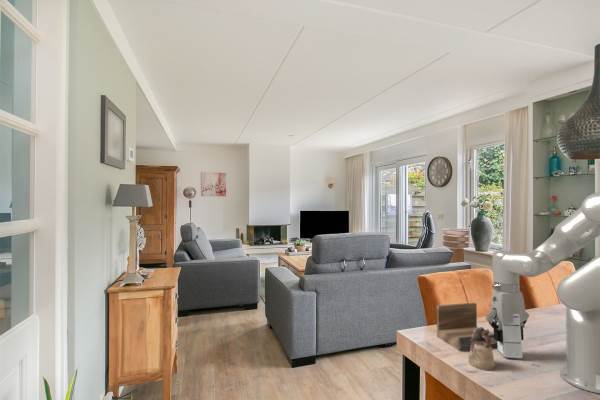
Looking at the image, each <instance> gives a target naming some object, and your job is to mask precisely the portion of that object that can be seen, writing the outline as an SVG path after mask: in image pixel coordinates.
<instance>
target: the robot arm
mask: <svg viewBox="0 0 600 400" xmlns="http://www.w3.org/2000/svg"><path fill="white" fill-rule="evenodd" d="M599 236H600V191H598V192H593V193H592V194H589V195H588V196H586V198H584V200H583V201H582V203H581V205H580V207H579V208H578V209H576V210H575V211H574V212H572V213H571V214H570V215H569V216H567V217H566V218H564V219H563V220H562V221H561V222H559V223H558V224H557V225H556V226H555V228H554V230H553V233H552V234H551V235H550V236H549V237H548V238H547V239H546V240H545V241H544V242H542V243H541V244H540V245H539V246H537V247H536V248H535V249H533V250H532V251H529V252H524V253H517V252H516V251H512V250H496V251H493V252H492V255H491V256H492V257H491V260H492V275H493V276H492V278H493V284H492V286H491V288H492V289H493V290H492V293H491V298H490V299H491V300H490V313H488V314H487V316H486V317H485V320H486V321H487V322H488V324H489V325H490V326H491V328H492V329H493V334H494V339H495V340H496V341H499V342H501V343H502V342H503V331H502V330H501V328H502V323H504V324H509V323H513V316H512V315H513V314H519V315H520V327H521V341H524V328H525V324H526V323H527V321H528V318H529V316H530V314H529V313H528V312H527V311H526V305H525V299H524V295H523V292H522V291H521V290H520V289H521V285H520V276H522V277H527V278H535V277H538V276H541V275H543V274H545V273H547V272H548V271H550V270H552V269H554V268H555V267H557V266H558V265H559V264H561V263H562V262H564V261H565V260H566V259H567V258H569V257H571V256H572V255H573V254H575V253H577V252H578V251H580V250H582V248H584V247H585V246H587V245H588V244H589V243H591V242H593V241H594V240H595V239H596V238H598V237H599ZM556 296H557V298H558V299H559V301H560V303H562V305H563V306H565V308H566V309H565V310H566V311H565V334H566V336H565V340H566V341H565V342H566V345H565V346H566V349H565V350H566V367H563V368H561V369H560V371H559V374H560V377H561V378H562V379H563V380H564V381H565V382H567V383H568V384H571V385H572V386H574V387H577V388H579V389H582V390H585V391H588V392H591V393H595V394H600V255H597V256H596V257H594V258H592V259H591V260H590V261H588V262H587V263H585V264H584V265H582V266H581V267H579V268H578V269H577V270H574V271H573V272H572V273H570V274H569V275H567V276H566V277H564V278H563V279H561V280H560V281H559V283H558V284H557V287H556ZM498 322H499V324H498V325H497V323H498Z"/></svg>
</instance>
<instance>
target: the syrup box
mask: <svg viewBox="0 0 600 400" xmlns="http://www.w3.org/2000/svg"><path fill="white" fill-rule="evenodd" d="M512 316H513V323H509V324H504V323H502V328H501V330H502V331H503V342H502V343H501V342H499V341H497V347H496V348H497V351H498V353H500V354H501V355H502V356H503V357H504V358H508V359H509V358H510V359H523V344H522V343H523V342H522V341H523V340H521V327H520V315H519V314H513V315H512ZM498 324H499V322H498V323H497V325H498Z"/></svg>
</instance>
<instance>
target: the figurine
mask: <svg viewBox="0 0 600 400" xmlns="http://www.w3.org/2000/svg"><path fill="white" fill-rule="evenodd" d="M488 333H490V330H489V329H485V328H484V327H483V326H477V328H476V329H474V331H473V333H472V335H471V336H472V339H471V340H470V342H471V347H470V350H469V355H468V363H469V365H470V366H471V367H473V368H475V369H479V370H483V371H491V370H494V369H495V363H496V362H495V358H494V352H493V348H491V346H490V344H491V339H490V337H489V335H488ZM485 339H486V340H487V341H486V340H485Z"/></svg>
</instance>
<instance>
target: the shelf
mask: <svg viewBox="0 0 600 400" xmlns="http://www.w3.org/2000/svg"><path fill="white" fill-rule="evenodd" d="M477 307H478V306H477V303H476V302H466V303H453V304H442V305H441V304H439V305H436V337H437V338H438V339H440V340H442V341H443V342H445V343H447V344H448V345H450V346H452V347H453V348H454V349H456V350H458V351H459V352H466V351H467V352H469V351H470V347H471V342H470V340H471V339H472V336H471V335H472V333H473V331H474V329H476V328H477V327H478V324H477V321H478V318H477V317H478V315H477V313H478V312H477ZM488 335H489V337H490V339H491V344H490V346H491V348H492V349H494V348H497V341H496V340H495V339H494V333H492V332H489V333H488ZM485 340H486V339H485ZM486 341H487V340H486Z"/></svg>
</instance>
